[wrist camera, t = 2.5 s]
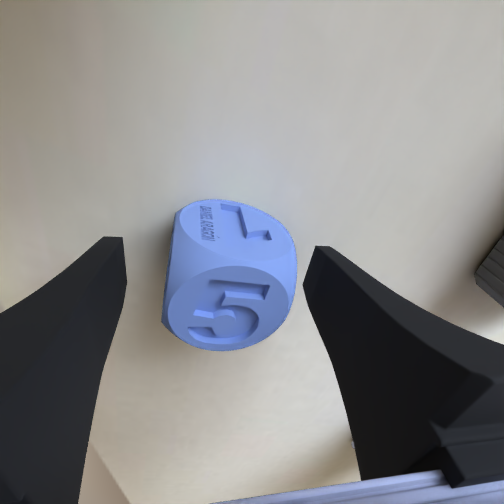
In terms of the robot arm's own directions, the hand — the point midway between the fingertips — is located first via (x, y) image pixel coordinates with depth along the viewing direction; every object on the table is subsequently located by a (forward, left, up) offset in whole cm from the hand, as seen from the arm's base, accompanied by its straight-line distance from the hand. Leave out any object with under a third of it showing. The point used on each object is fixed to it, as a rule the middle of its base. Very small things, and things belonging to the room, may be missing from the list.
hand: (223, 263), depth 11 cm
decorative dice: (0, 0, -2) cm, 2 cm away
